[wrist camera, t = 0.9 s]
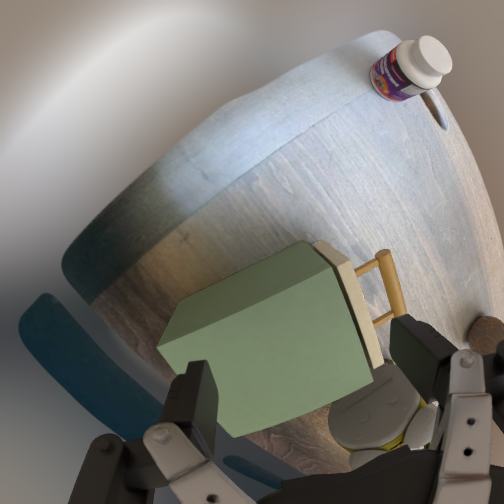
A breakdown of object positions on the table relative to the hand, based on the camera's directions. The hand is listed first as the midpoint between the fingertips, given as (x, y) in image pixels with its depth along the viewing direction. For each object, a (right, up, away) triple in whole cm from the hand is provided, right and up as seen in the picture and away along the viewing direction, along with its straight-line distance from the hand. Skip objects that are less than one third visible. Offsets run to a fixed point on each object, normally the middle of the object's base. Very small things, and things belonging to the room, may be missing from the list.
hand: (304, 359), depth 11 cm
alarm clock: (+12, -12, +22) cm, 28 cm away
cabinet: (-1, -3, +19) cm, 20 cm away
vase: (+35, -8, +22) cm, 42 cm away
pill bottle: (+13, +24, +14) cm, 31 cm away
